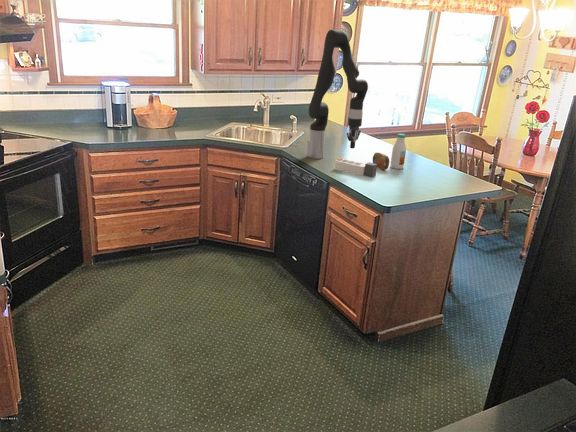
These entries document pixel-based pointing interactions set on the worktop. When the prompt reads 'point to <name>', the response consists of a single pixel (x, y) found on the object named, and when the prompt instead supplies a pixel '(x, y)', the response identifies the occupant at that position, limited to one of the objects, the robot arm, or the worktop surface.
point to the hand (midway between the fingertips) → (352, 148)
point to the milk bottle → (398, 152)
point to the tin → (381, 161)
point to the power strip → (350, 166)
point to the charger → (370, 169)
